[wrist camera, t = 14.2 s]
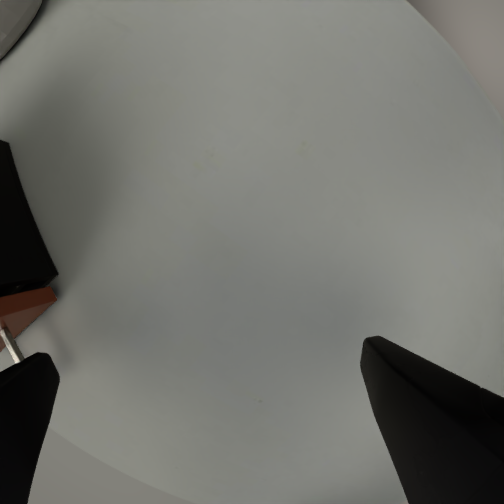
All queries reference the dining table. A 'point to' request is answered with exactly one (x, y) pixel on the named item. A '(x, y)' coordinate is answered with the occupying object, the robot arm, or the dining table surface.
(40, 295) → the drawer with bar handle
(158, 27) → the dining table surface
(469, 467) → the robot arm
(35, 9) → the mug
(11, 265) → the small drawer box
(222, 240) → the dining table surface
